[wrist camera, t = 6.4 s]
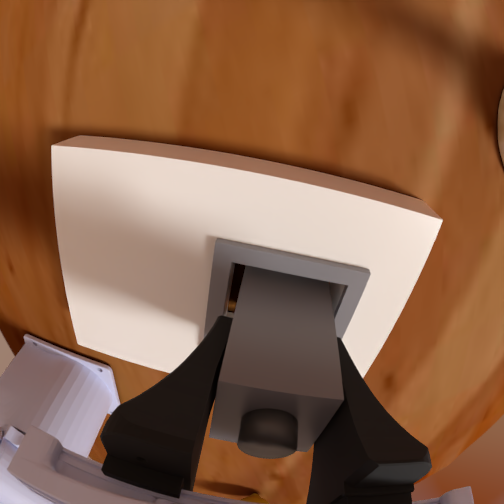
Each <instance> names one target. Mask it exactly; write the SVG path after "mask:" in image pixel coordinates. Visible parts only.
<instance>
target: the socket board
mask: <svg viewBox="0 0 504 504" xmlns="http://www.w3.org/2000/svg"><path fill="white" fill-rule="evenodd" d="M51 154H52V184H53V199H54V212H55V222H56V231H57V239H58V247H59V254H60V261H61V267H62V273H63V279H64V284H65V290H66V295H67V300H68V305H69V309H70V314H71V318H72V322H73V327H74V331H75V335H76V339H77V342H78V344H79V345H82V346H84V347H87V348H90V349H93V350H96V351H99V352H102V353H105V354H108V355H111V356H114V357H117V358H120V359H123V360H126V361H130V362H133V363H136V364H139V365H143V366H146V367H150V368H153V369H157V370H161V371H164V372H168V373H171V372H172V371H174V370H175V369H176V368H177V367H178V366H179V365H180V364H181V363H182V362H183V361H184V360H185V359H186V358H187V357H188V356H189V355H190V354H191V353H192V352H193V351H194V350H195V349H196V348H197V346H198V345H199V344H200V343H201V341H202V340H203V339H204V338H205V336H206V335H207V334H208V332H209V331H210V329H211V328H212V326H213V325H214V323H215V321H216V319H217V317H218V316H220V315H221V316H226V317H231V318H233V317H234V313H232V312H227V309H228V303H229V297H230V292H231V286H232V280H233V274H234V268H235V263H238V264H243V265H248V266H253V267H258V268H263V269H268V270H273V271H277V272H282V273H287V274H292V275H297V276H302V277H307V278H312V279H317V280H323V281H328V282H330V284H329V288H330V294H331V301H332V307H333V314H334V321H335V328H336V335H337V337H340V338H341V340H342V342H343V343H344V345H345V347H346V349H347V351H348V353H349V355H350V357H351V359H352V361H353V362H354V364H355V366H356V368H357V369H358V371H359V373H360V375H361V376H362V378H363V377H364V376H365V374H366V372H367V371H368V369H369V368H370V366H371V364H372V363H373V361H374V359H375V358H376V356H377V354H378V353H379V351H380V349H381V348H382V346H383V344H384V342H385V341H386V339H387V337H388V335H389V334H390V332H391V330H392V328H393V326H394V324H395V323H396V321H397V319H398V317H399V315H400V313H401V311H402V309H403V307H404V306H405V304H406V302H407V300H408V298H409V296H410V294H411V292H412V290H413V287H414V285H415V283H416V281H417V279H418V277H419V275H420V273H421V271H422V268H423V266H424V264H425V262H426V260H427V257H428V255H429V253H430V250H431V248H432V246H433V243H434V241H435V239H436V236H437V234H438V231H439V229H440V226H441V224H442V221H443V220H442V219H441V218H440V217H439V216H438V215H437V214H436V213H435V212H434V211H433V210H432V209H431V208H430V207H429V206H428V205H427V204H426V203H425V202H424V201H423V200H420V199H417V198H414V197H410V196H407V195H404V194H401V193H397V192H394V191H390V190H387V189H383V188H380V187H376V186H373V185H369V184H365V183H361V182H358V181H354V180H350V179H346V178H342V177H338V176H334V175H330V174H326V173H322V172H318V171H313V170H309V169H305V168H300V167H296V166H291V165H286V164H282V163H277V162H272V161H267V160H262V159H257V158H251V157H246V156H241V155H235V154H229V153H224V152H218V151H212V150H205V149H199V148H192V147H186V146H179V145H171V144H164V143H156V142H148V141H139V140H130V139H120V138H109V137H97V136H84V135H79V136H76V137H73V138H70V139H67V140H64V141H62V142H59V143H56V144H54V145H51Z"/></svg>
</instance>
